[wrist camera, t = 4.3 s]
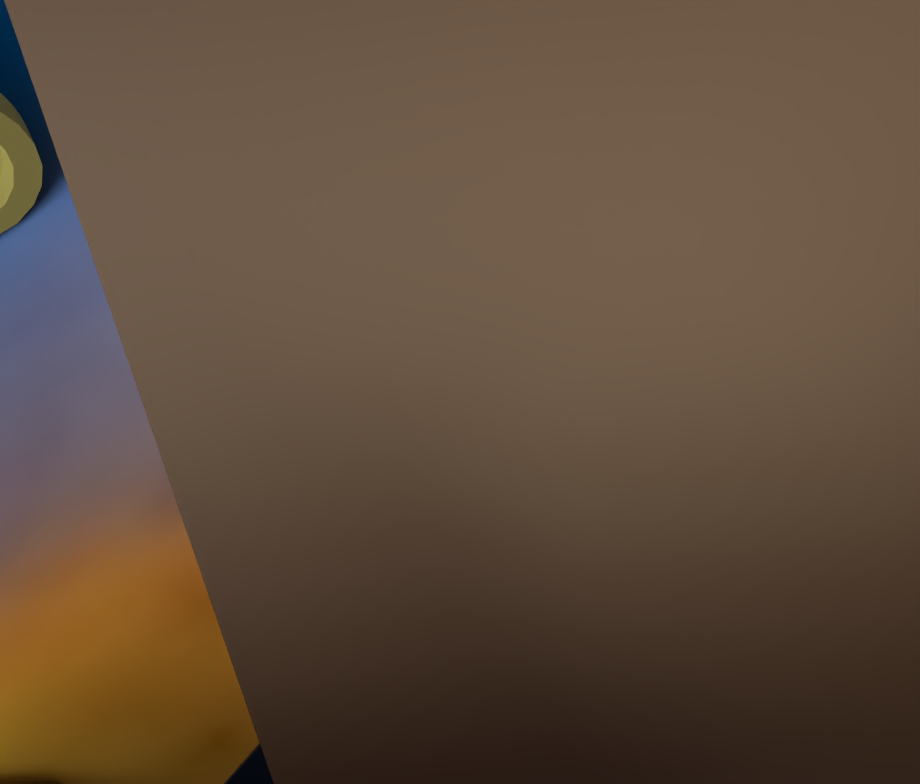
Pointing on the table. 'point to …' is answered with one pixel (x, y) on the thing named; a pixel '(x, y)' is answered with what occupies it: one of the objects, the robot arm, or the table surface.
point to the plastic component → (16, 167)
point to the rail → (525, 369)
